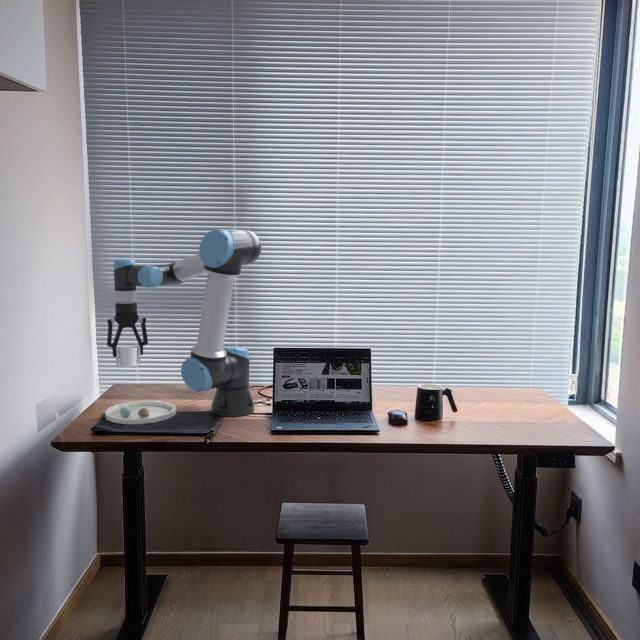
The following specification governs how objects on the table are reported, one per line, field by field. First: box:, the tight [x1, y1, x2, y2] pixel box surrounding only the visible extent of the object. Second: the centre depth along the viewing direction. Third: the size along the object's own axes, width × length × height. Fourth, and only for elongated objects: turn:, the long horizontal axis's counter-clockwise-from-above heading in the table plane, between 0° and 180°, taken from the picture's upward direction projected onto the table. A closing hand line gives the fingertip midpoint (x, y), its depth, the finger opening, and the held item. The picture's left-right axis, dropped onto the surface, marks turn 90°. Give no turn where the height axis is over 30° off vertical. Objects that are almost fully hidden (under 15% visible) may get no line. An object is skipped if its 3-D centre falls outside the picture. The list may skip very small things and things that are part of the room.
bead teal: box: [120, 407, 131, 417], centre depth 213 cm, size 4×4×4 cm
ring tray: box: [104, 400, 177, 425], centre depth 217 cm, size 23×23×2 cm
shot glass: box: [117, 344, 138, 368], centre depth 232 cm, size 7×7×7 cm
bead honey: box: [138, 408, 149, 418], centre depth 212 cm, size 4×4×4 cm
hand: (128, 364), depth 233 cm, fingers closed on shot glass, 7 cm apart
